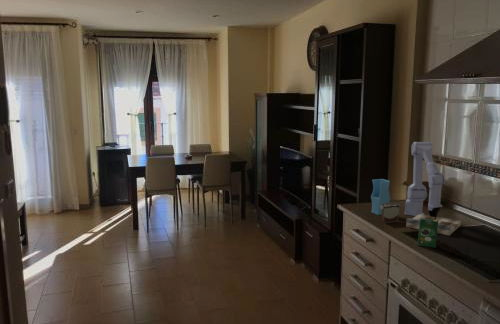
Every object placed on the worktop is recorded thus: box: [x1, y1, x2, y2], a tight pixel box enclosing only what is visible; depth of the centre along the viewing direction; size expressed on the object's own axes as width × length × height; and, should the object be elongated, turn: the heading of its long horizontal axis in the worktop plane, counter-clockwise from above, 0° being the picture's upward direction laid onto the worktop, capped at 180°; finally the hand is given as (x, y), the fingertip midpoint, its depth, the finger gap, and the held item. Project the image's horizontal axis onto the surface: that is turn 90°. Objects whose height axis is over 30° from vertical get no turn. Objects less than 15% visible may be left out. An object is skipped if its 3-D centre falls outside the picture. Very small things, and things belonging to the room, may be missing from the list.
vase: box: [370, 178, 391, 216], centre depth 252 cm, size 8×8×20 cm
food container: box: [380, 202, 401, 224], centre depth 237 cm, size 12×6×10 cm, turn 110°
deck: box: [405, 213, 462, 236], centre depth 228 cm, size 22×22×4 cm
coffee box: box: [417, 218, 438, 249], centre depth 197 cm, size 8×3×13 cm, turn 68°
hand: (433, 220), depth 227 cm, fingers closed
